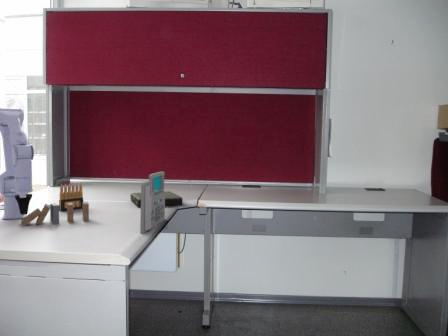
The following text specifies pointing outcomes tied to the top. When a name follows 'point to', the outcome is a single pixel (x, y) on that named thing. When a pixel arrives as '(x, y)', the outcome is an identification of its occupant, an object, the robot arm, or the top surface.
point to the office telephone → (152, 201)
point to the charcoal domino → (54, 213)
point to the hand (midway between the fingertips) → (24, 214)
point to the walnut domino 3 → (70, 212)
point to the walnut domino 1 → (31, 217)
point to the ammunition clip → (71, 197)
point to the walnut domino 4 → (85, 211)
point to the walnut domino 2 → (43, 214)
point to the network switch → (170, 199)
